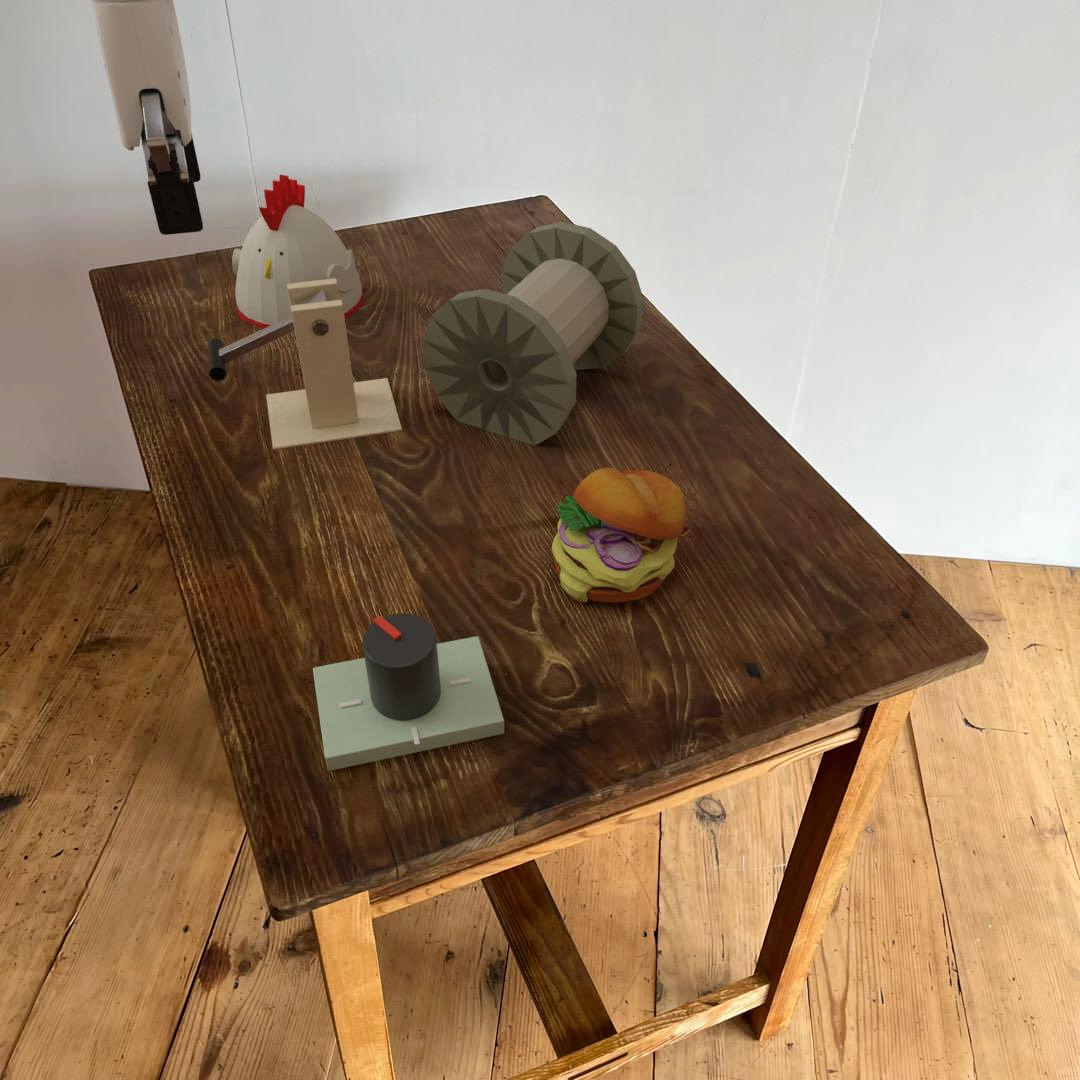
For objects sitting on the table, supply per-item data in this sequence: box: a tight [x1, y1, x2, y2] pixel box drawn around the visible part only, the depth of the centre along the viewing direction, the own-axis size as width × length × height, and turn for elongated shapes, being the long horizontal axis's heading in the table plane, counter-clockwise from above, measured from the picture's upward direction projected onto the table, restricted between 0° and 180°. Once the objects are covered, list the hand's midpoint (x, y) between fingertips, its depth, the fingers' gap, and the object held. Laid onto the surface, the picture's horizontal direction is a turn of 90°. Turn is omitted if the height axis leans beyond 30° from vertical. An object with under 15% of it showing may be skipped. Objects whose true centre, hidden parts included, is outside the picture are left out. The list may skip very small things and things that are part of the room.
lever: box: [207, 289, 330, 382], centre depth 91 cm, size 12×5×2 cm, turn 105°
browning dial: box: [361, 612, 441, 720], centre depth 68 cm, size 5×5×6 cm
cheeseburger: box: [551, 467, 691, 603], centre depth 81 cm, size 10×11×10 cm
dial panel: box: [312, 635, 505, 772], centre depth 71 cm, size 12×9×3 cm
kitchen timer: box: [231, 174, 364, 329], centre depth 110 cm, size 14×14×15 cm
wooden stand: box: [265, 278, 403, 451], centre depth 94 cm, size 12×9×14 cm
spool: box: [421, 221, 645, 446], centre depth 97 cm, size 16×15×15 cm
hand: (181, 205), depth 81 cm, fingers open, 9 cm apart
